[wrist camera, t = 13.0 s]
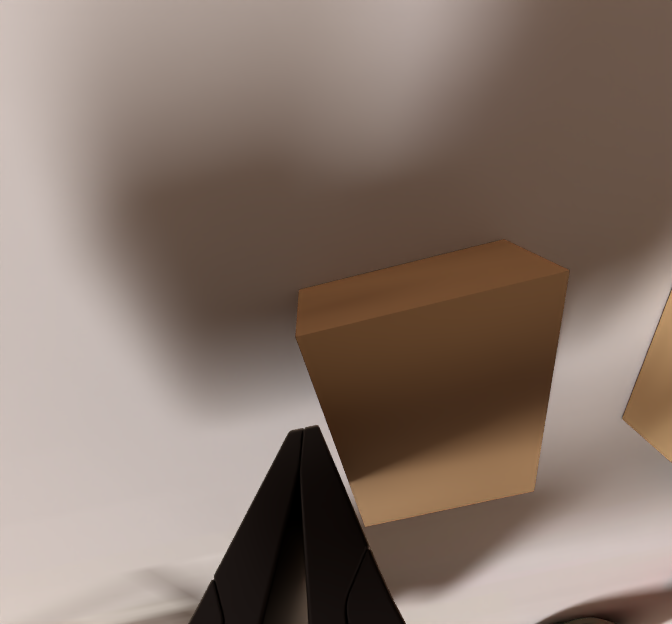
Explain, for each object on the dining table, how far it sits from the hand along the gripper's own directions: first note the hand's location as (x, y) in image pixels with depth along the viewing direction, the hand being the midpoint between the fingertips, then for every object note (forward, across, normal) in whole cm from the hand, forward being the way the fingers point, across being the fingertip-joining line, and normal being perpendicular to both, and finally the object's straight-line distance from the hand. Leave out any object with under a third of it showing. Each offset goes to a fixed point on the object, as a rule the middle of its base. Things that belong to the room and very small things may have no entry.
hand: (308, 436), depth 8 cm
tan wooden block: (+2, -3, 0) cm, 4 cm away
